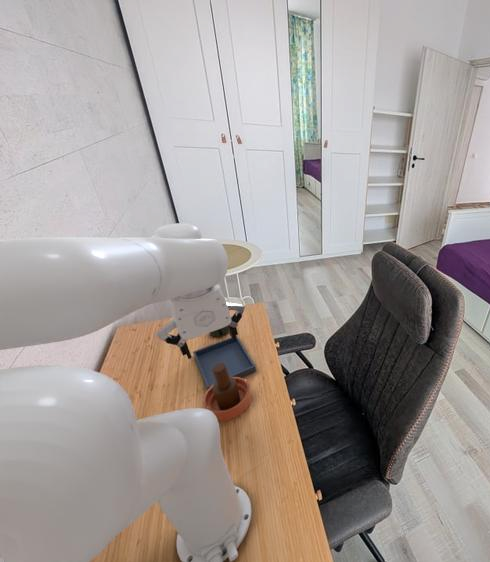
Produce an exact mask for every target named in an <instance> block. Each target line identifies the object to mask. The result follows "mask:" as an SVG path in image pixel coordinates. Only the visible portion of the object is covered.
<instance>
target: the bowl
mask: <svg viewBox="0 0 490 562" xmlns="http://www.w3.org/2000/svg"><path fill="white" fill-rule="evenodd" d="M232 378H234V379H235V381H236V384H237V388H238V392H239V395H240V403H239V404H237V405H236V406H234V407H232V408H230V409H227V410H223V411H222V410H220V409H219V407H218V404H217V401H216V398H215V395H214V392H213V385H214V384H213V385H212V386H211V387H210V388H209V389H208V390H207V389H206V391H205V393H204V395H203V396H202V405H203V408H204V409H208V410H210V411H212V412H213V413H214V414H215V416H216V417H217V420H218V423H219V422H228V421H232V420H234V419H235V418H237V417H239V416H241V415H242V414H243V413H245V411H247V410H248V408H249V407H250V405H251V403H252V399H253V393H252V390H251V386H250V385H251V384H249V381H247V380H246V379H245V378H244V377H243V378H240V377H232Z"/></svg>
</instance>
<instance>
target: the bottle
mask: <svg viewBox="0 0 490 562" xmlns="http://www.w3.org/2000/svg"><path fill="white" fill-rule="evenodd" d="M212 371H213V374H214V377H215V380H216V383H215V384H214V385H213V392H214V395H215V398H216V401H217V404H218V407H219V409H220V410H222V411H223V410H227V409H230V408H232V407H234V406H236V405H237V404H239V403H240V395H239V392H238V388H237V384H236V381H235V379H234V378H232V377H229V375H228V372H227V368H226V365H225V364H224V363H218V364H216V365H214V366H213V368H212Z"/></svg>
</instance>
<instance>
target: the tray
mask: <svg viewBox="0 0 490 562" xmlns="http://www.w3.org/2000/svg"><path fill="white" fill-rule="evenodd" d="M236 339H237V341H233V339H232V338H231V337H228V338H226V339H223V340H220V341H218V342H215V343H212V344H209V345H207V346H204V347H202V348H199V349H197V350H193V351H192V353H193V356H194V359H195V361H196V364H197V366H198V370H199V372H200V374H201V377H202V379H203V382H204V385H205V387H206V391H207V390H208V389H209V388H210V387H211V386H212V385H213V384H215V383H216V380H215V377H214V374H213V371H212V368H213V366H214V365H216V364H218V363H224V364H225V365H226V368H227V372H228V375H229V377H240V378H243V379H244V378H245V377H247V376H249V375H252V374H254V373H256V372H257V368H256V364H255V363H254V362H253V360H252V358H251V357H250V355H249V353H248V351H247V350H246V348H245V347H244V345H243V343H242V341H241V340H240V338H239V337H238V335H236Z"/></svg>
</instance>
